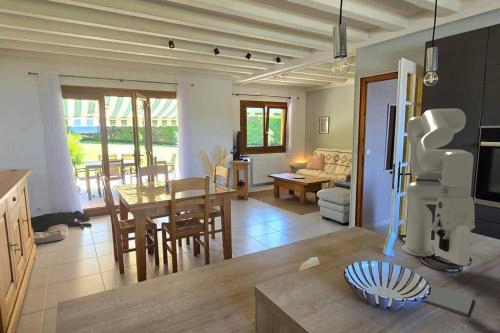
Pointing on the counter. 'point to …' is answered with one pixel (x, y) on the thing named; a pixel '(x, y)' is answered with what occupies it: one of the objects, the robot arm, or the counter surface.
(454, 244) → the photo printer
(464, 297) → the mat
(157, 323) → the counter surface
